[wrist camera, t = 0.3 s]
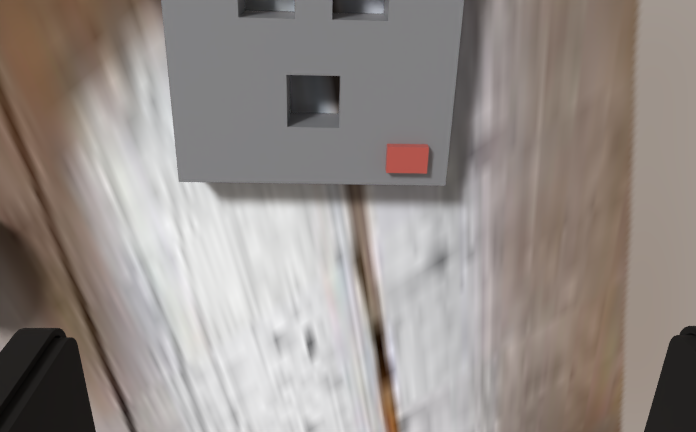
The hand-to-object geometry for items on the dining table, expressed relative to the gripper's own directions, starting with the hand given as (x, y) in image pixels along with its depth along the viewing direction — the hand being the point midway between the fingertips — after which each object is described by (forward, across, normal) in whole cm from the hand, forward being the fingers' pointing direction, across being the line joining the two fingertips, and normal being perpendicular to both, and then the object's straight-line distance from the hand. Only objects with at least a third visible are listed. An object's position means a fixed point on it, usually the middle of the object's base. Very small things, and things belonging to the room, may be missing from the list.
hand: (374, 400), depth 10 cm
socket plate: (+30, +2, -1) cm, 30 cm away
